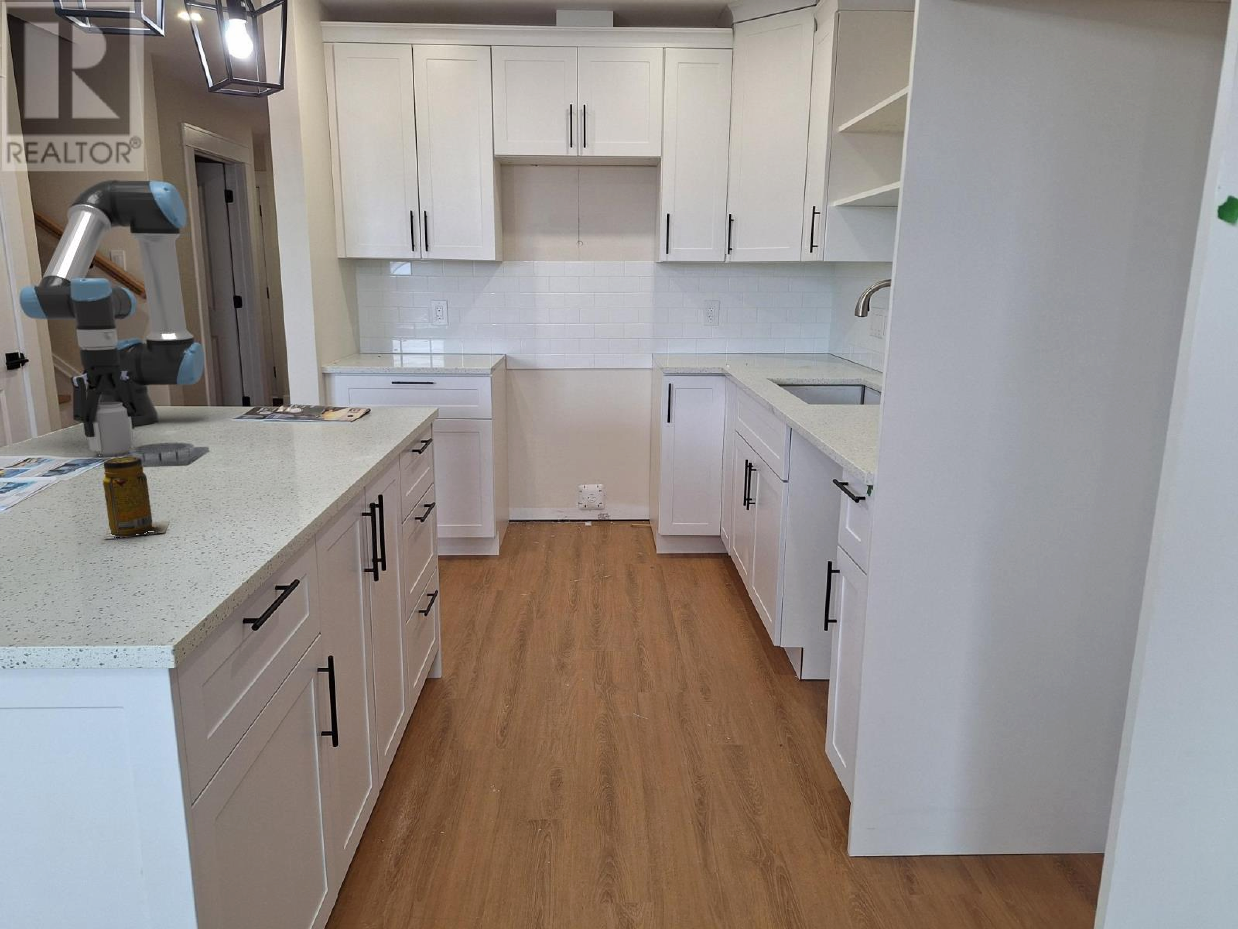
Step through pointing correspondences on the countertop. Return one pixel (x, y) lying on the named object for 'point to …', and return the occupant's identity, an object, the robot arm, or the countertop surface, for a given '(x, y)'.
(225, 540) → the countertop surface
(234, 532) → the countertop surface
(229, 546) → the countertop surface
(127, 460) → the condiment
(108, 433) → the can
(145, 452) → the duct flange
